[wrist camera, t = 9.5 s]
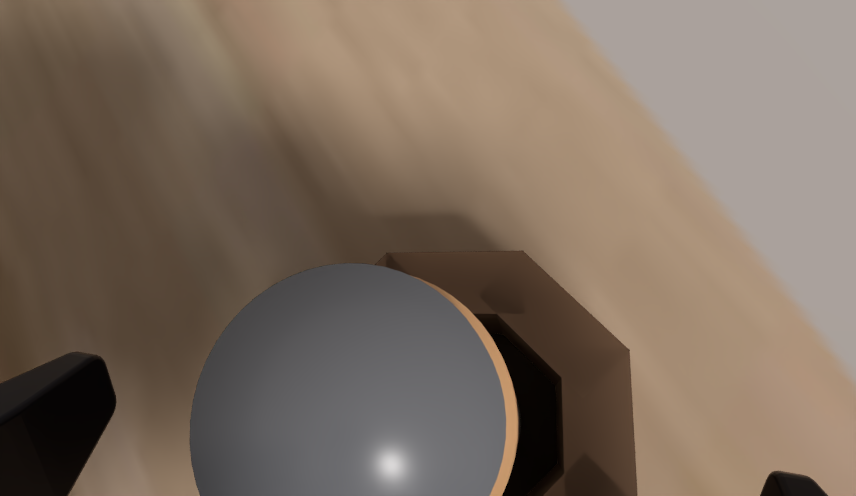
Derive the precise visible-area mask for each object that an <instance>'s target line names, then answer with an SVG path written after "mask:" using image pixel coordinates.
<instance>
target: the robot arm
mask: <svg viewBox="0 0 856 496" xmlns="http://www.w3.org/2000/svg"><path fill="white" fill-rule="evenodd" d="M115 407H116V395H115V392H114V389H113V385H112V382H111V379H110V376H109V373H108V369H107V366H106V363H105V361H104V360H103V359H102V358H101V357H100V356H98V355H93V354H87V353H81V352H72V353H68V354H66V355H64V356H61V357H59V358H57V359H55V360H52V361H50V362H48V363H46V364H43V365H41V366H39V367H37V368H34V369H32V370H30V371H28V372H25V373H23V374H21V375H19V376H16V377H14V378H12V379H10V380H7V381H5V382H3V383H1V384H0V496H68V495H69V493H70V491H71V490H72V488H73V486H74V484H75V482H76V480H77V479H78V477H79V475H80V473H81V471H82V470H83V468H84V466H85V464H86V462H87V461H88V459H89V457H90V455H91V453H92V452H93V450H94V448H95V446H96V444H97V443H98V441H99V439H100V437H101V435H102V434H103V432H104V430H105V428H106V426H107V425H108V423H109V421H110V419H111V417H112V415H113V413H114V410H115ZM760 496H828V495H827V494H826V493H825V492H824V491H823V490H822V488H821V487H820V486H819V485H818V484H817V483H816V482H815V481H814V480H813V479H811V478H810V477H808V476H805V475H800V474H794V473H788V472H782V471H773V472H771V473H770V474H769V476H768V477H767V479H766V482H765V485H764V487H763V490H762V492H761V495H760Z"/></svg>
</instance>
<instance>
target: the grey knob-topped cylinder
mask: <svg viewBox="0 0 856 496" xmlns="http://www.w3.org/2000/svg"><path fill="white" fill-rule="evenodd" d="M520 433H521V412H520V408H519V405H518V402H517V399H516V395H515V391H514V387H513V383H512V380H511V377H510V375H509V372H508V369H507V367H506V364H505V362H504V360H503V357H502V355H501V354H500V352H499V350H498V348H497V346H496V344H495V342H494V340H493V339H492V337H491V336H490V334H489V333H488V332H487V330H486V329H485V328H484V326H483V325H482V323H481V322H480V321H479V320H478V319H477V318H476V317H475V316H474V315H473V314H472V313H471V311H470V310H469V309H468V308H467V307H465V306H464V305H463V304H462V303H461V302H459V301H458V300H457V299H456V298H454V297H453V296H452V295H450V294H449V293H447V292H445V291H444V290H442V289H440V288H439V287H437V286H435V285H433V284H431V283H429V282H426V281H424V280H422V279H420V278H417V277H413V276H410V275H408V274H405V273H403V272H400V271H397V270H393V269H390V268H387V267H383V266H377V265H370V264H358V263H343V264H334V265H325V266H321V267H317V268H313V269H309V270H306V271H303V272H300V273H298V274H295V275H293V276H290V277H288V278H286V279H284V280H282V281H280V282H278V283H277V284H275V285H273V286H271V287H270V288H268V289H267V290H265V291H264V292H263V293H261V294H260V295H258V296H257V297H255V298H254V299H253V300H252V301H251V302H250V303H249V304H248V305H246V306H245V307H244V308H243V309H242V310H241V311H240V312H239V313H238V314H237V315H236V317H235V318H234V319H233V320H232V321H231V322H230V323H229V325H228V326H227V327H226V328H225V330H224V331H223V333H222V334H221V336H220V337H219V339H218V340H217V342H216V343H215V345H214V347H213V349H212V351H211V353H210V354H209V356H208V358H207V360H206V362H205V365H204V367H203V370H202V373H201V375H200V378H199V380H198V384H197V388H196V392H195V395H194V399H193V405H192V412H191V419H190V451H191V461H192V467H193V472H194V476H195V480H196V485H197V488H198V490H199V493H200V496H502V494H503V492H504V490H505V487H506V485H507V482H508V480H509V477H510V474H511V471H512V467H513V464H514V460H515V457H516V450H517V444H518V441H519V438H520Z"/></svg>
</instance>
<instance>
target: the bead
mask: <svg viewBox="0 0 856 496" xmlns="http://www.w3.org/2000/svg"><path fill="white" fill-rule="evenodd" d="M375 265H377V266H383V267H387V268H390V269H393V270H397V271H400V272H403V273H405V274H408V275H410V276H413V277H417V278H420V279H422V280H424V281H426V282H429V283H431V284H433V285H435V286H437V287H439V288H440V289H442V290H444V291H445V292H447V293H449V294H450V295H452V296H453V297H454V298H456V299H457V300H458V301H459V302H461V303H462V304H463V305H464V306H465V307H467V308H468V309H469V310H470V311H471V313H472V314H473V315H474V316H475V317H476V318H477V319H478V320H479V321H480V322H481V323H482V325H483V326H484V328H485V329H486V330H487V332H488V333H489V334H503V335H504V336H505V337H506V338H507V339H508V340H509V341H510V342H511V343H512V344H513V345H514V346H515V347H516V348H518V349H519V350H520V351H521V352H522V353H523V354H524V355H525V356H526V357H527V358H528V359H529V360H530V361H531V362H532V363H533V364H534V365H535V366H536V367H537V368H538V369H539V370H540V371H541V372H542V373H543V374H544V375H545V376H546V377H547V378H548V379H549V380H550V381H551V382H552V383H553V384H554V385H555V386H556V423H557V461H558V463H557V464H556V465H555V466H554V467H553V468H552V469H551V470H550V471H549V472H548V473H547V474H546V476H545V477H544V478H543V479H542V480H541V481H540V482H539V483H538V484H537V485H536V486H535V487H534V488H533V489H532V490H531V491H530V492H529V493H528V494H527V495H526V496H637V480H636V461H635V443H634V425H633V407H632V388H631V370H630V352H629V351H630V350H629V349H628V348H627V347H626V346H624V345H623V344H622V343H621V342H620V341H619V340H618V339H617V338H616V337H615V336H614V335H613V334H612V333H610V332H609V331H608V330H607V329H606V328H605V327H604V326H603V325H602V324H601V323H600V322H599V321H598V320H596V319H595V318H594V317H593V316H592V315H591V314H590V313H589V312H588V311H587V310H586V309H585V308H584V307H583V306H581V305H580V304H579V303H578V302H577V301H576V300H575V299H574V298H573V297H572V296H571V295H570V294H569V293H567V292H566V291H565V290H564V289H563V288H562V287H561V286H560V285H559V284H558V283H557V282H556V281H555V280H553V279H552V278H551V277H550V276H549V275H548V274H547V273H546V272H545V271H544V270H543V269H542V268H541V267H540V266H538V265H537V264H536V263H535V262H534V261H533V260H532V259H531V258H530V257H529V256H528V255H527V254H526V253H524V251H480V252H415V253H386V255H385V256H383V257H382V258H381V259H380V260H379V261H378V262H377V263H376V264H375Z"/></svg>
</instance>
